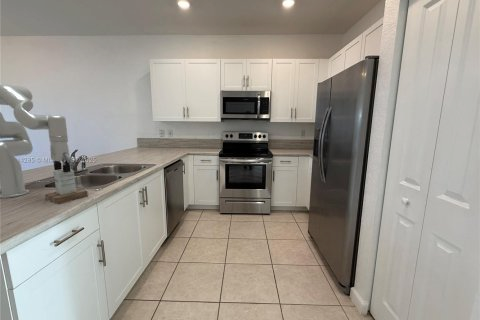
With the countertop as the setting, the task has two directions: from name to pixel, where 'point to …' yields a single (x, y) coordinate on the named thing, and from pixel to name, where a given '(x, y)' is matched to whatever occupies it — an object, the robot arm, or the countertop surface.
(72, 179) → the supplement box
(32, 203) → the countertop surface
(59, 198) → the block
